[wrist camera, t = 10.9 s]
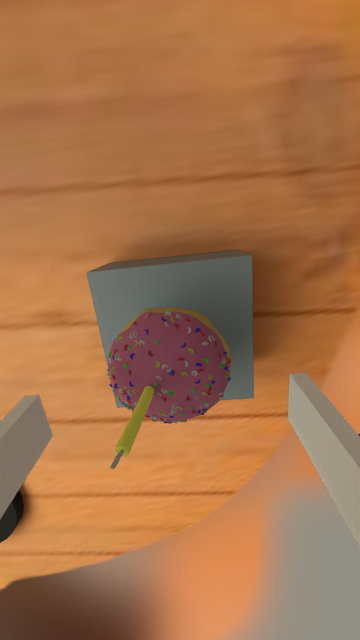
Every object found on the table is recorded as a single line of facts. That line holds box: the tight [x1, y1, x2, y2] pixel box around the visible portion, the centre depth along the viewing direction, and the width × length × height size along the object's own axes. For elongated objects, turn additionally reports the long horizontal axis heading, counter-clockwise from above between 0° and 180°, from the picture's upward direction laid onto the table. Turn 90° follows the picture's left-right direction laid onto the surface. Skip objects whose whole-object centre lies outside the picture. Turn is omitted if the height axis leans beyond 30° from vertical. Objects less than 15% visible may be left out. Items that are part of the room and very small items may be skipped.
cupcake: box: [107, 307, 231, 469], centre depth 16 cm, size 9×8×12 cm
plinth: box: [87, 250, 254, 408], centre depth 25 cm, size 13×13×6 cm
